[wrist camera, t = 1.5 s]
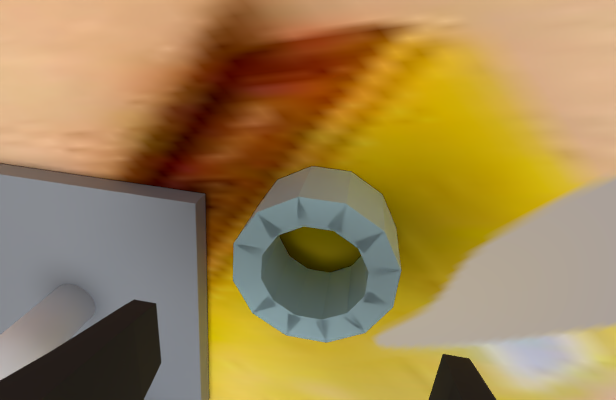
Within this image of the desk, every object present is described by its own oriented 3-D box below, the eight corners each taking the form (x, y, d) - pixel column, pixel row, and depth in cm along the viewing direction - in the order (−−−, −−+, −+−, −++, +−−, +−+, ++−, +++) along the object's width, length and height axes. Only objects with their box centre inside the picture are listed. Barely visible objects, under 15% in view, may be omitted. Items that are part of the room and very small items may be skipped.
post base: (205, 193, 16) (108, 289, 10) (209, 399, 21) (145, 543, 15) (-57, 155, 17) (-278, 220, 11) (5, 358, 22) (-128, 477, 16)
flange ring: (406, 178, 15) (413, 213, 12) (381, 300, 17) (382, 352, 14) (259, 158, 15) (234, 187, 12) (254, 279, 17) (232, 325, 15)
